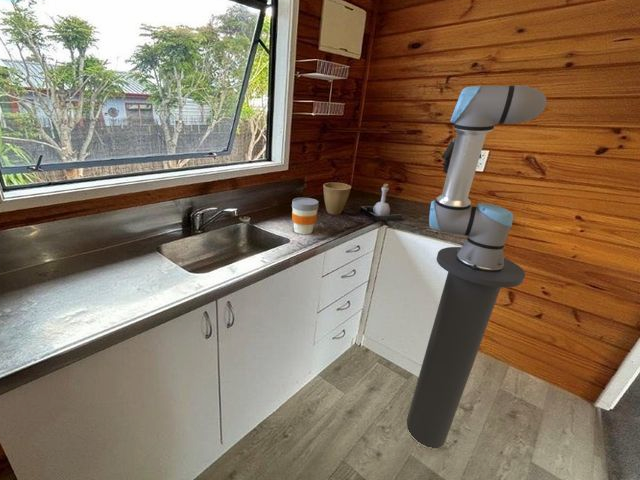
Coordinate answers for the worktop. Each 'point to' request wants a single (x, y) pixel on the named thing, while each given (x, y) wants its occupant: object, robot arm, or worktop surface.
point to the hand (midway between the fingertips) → (457, 172)
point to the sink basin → (367, 212)
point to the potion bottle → (382, 203)
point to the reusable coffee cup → (304, 214)
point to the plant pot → (335, 197)
